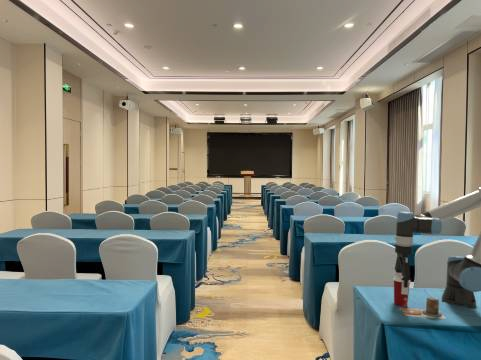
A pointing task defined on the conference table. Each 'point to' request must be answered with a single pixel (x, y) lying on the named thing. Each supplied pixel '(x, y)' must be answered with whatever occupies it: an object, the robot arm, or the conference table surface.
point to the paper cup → (399, 292)
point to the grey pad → (432, 314)
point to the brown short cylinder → (432, 306)
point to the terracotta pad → (411, 311)
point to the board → (422, 314)
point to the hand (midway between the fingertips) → (401, 290)
